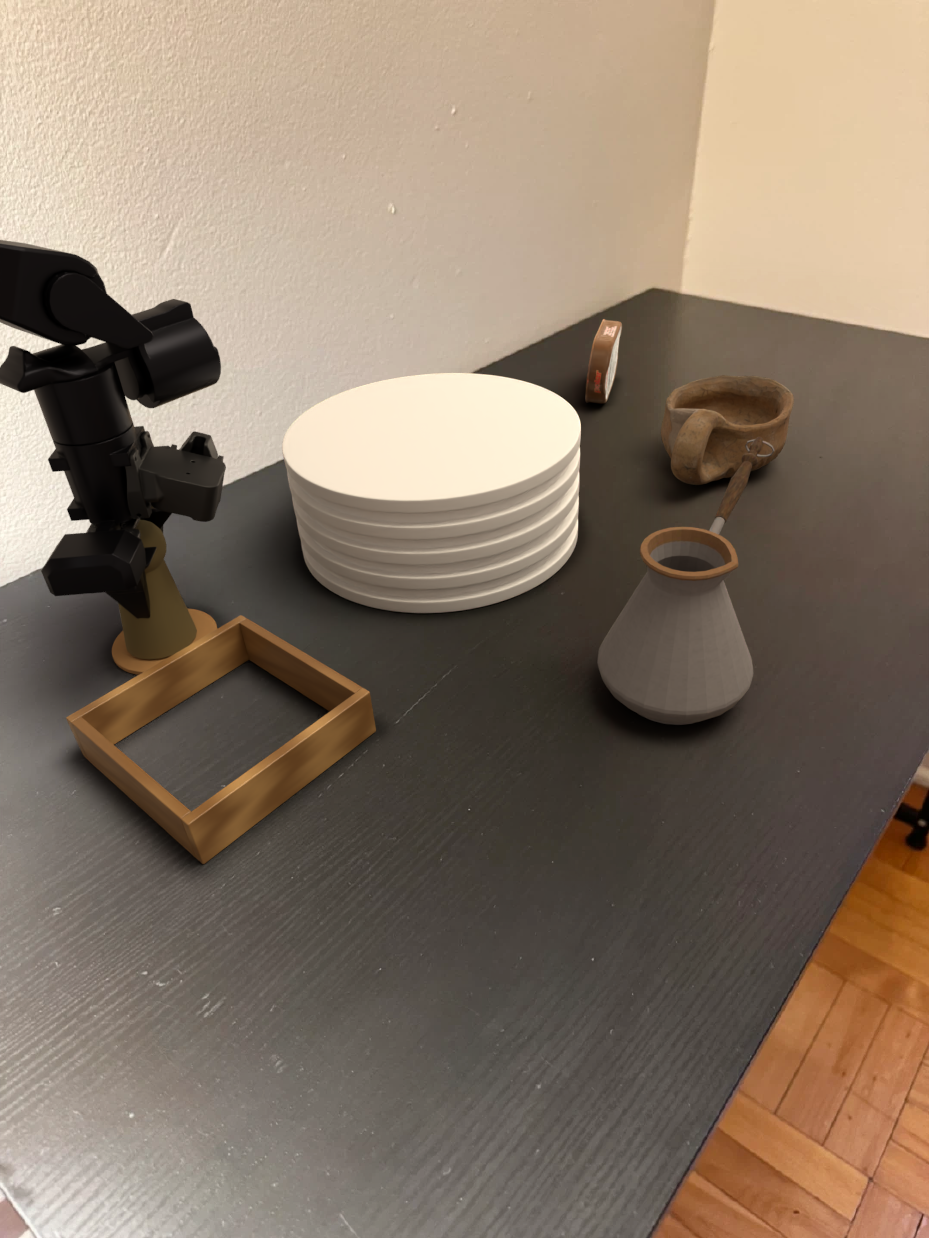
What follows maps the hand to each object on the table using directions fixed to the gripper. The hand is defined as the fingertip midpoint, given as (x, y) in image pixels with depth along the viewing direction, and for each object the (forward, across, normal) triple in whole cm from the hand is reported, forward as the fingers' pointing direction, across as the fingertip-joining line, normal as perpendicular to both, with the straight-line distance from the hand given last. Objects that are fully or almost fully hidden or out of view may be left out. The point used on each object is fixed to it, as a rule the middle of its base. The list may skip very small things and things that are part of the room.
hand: (151, 601), depth 71 cm
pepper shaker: (+4, 0, 0) cm, 4 cm away
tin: (+4, +48, -48) cm, 68 cm away
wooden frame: (+4, -13, -8) cm, 16 cm away
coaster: (+4, 0, 0) cm, 4 cm away
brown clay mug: (+4, +23, -56) cm, 61 cm away
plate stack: (+4, +15, -25) cm, 29 cm away
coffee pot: (+4, -8, -45) cm, 45 cm away
